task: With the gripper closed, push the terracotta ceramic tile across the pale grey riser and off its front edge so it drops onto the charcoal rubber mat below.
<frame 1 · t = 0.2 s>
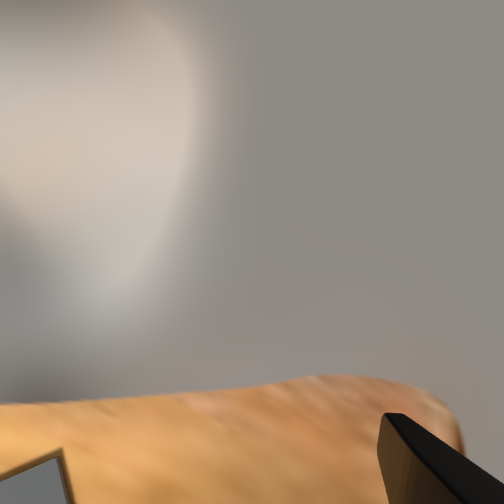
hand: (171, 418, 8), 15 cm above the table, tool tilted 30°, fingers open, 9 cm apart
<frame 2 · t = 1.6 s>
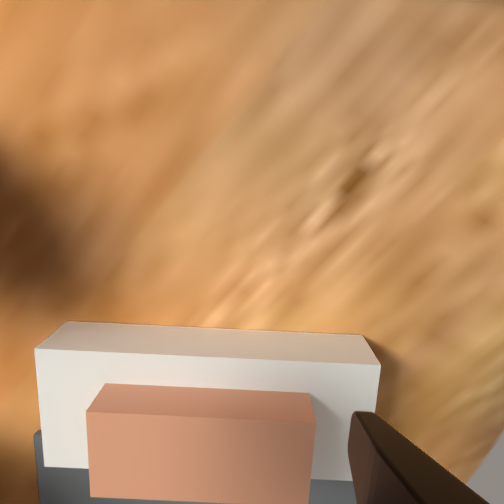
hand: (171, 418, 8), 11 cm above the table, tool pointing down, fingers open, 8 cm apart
riser: (213, 381, 20), on the table
mat: (210, 492, 22), on the table
tile: (206, 427, 17), point 3 cm above the table, touching riser
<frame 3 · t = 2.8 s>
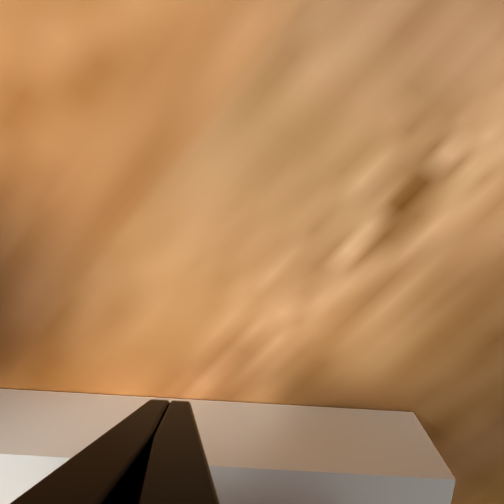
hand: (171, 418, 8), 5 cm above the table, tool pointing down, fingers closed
riser: (201, 471, 14), on the table
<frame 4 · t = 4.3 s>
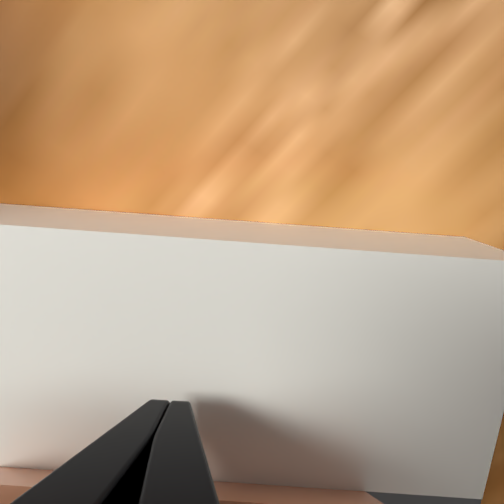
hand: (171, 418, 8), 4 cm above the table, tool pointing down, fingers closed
riser: (199, 316, 12), on the table
tile: (181, 479, 9), point 3 cm above the table, tilted 55°
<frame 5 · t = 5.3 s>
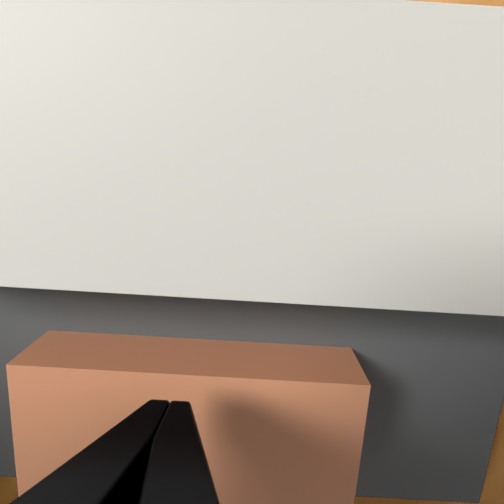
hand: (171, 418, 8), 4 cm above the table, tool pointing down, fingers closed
riser: (202, 157, 11), on the table
mat: (195, 384, 12), on the table
tile: (187, 444, 10), point 2 cm above the table, tilted 180°, touching mat
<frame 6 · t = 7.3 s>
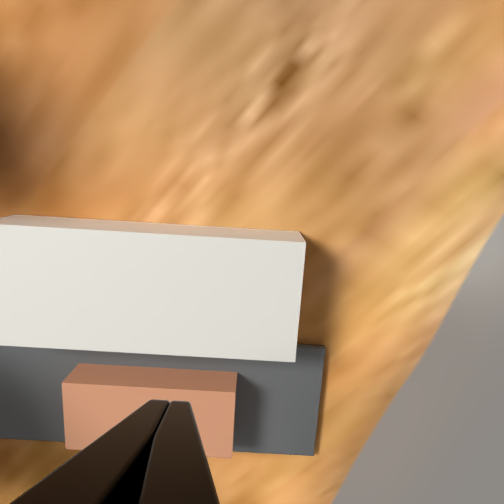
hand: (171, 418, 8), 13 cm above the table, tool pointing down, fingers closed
riser: (157, 277, 21), on the table
mat: (157, 391, 23), on the table
tile: (148, 421, 20), point 2 cm above the table, tilted 180°, touching mat
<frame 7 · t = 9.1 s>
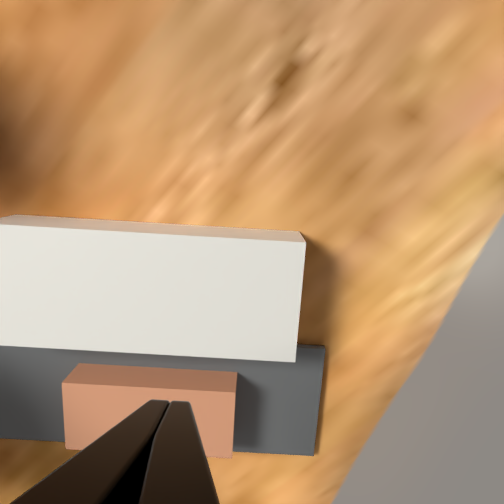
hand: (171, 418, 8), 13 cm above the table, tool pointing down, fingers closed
riser: (157, 277, 21), on the table
mat: (157, 391, 23), on the table
tile: (148, 421, 20), point 2 cm above the table, tilted 180°, touching mat
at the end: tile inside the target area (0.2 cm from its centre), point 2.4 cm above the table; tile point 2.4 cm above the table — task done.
